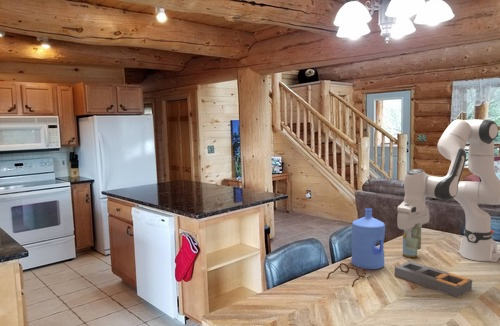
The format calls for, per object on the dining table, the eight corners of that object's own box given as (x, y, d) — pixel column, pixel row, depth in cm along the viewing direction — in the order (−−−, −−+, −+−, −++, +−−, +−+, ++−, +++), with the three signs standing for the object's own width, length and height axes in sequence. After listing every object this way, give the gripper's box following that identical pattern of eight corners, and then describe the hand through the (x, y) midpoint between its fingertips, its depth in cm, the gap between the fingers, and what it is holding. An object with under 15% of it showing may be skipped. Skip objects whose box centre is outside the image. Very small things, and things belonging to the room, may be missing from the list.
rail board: (410, 269, 184) (410, 260, 184) (471, 289, 162) (472, 279, 161) (394, 275, 177) (394, 266, 176) (456, 297, 154) (457, 287, 154)
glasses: (366, 279, 175) (366, 268, 174) (352, 288, 165) (352, 277, 165) (340, 271, 184) (340, 261, 183) (325, 280, 174) (325, 269, 174)
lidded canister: (418, 258, 198) (419, 229, 197) (403, 257, 200) (404, 229, 198) (415, 253, 205) (416, 226, 203) (401, 253, 206) (402, 225, 205)
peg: (411, 246, 178) (412, 221, 177) (420, 248, 175) (421, 223, 173) (405, 248, 176) (406, 222, 174) (415, 251, 172) (415, 224, 171)
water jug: (349, 267, 187) (350, 211, 184) (353, 257, 202) (354, 204, 199) (383, 271, 181) (384, 213, 178) (385, 260, 196) (386, 206, 193)
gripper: (420, 201, 182) (419, 229, 183) (394, 207, 170) (394, 238, 171) (433, 203, 177) (432, 232, 178) (408, 210, 165) (407, 241, 166)
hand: (413, 235), depth 175 cm, fingers closed on peg, 4 cm apart
